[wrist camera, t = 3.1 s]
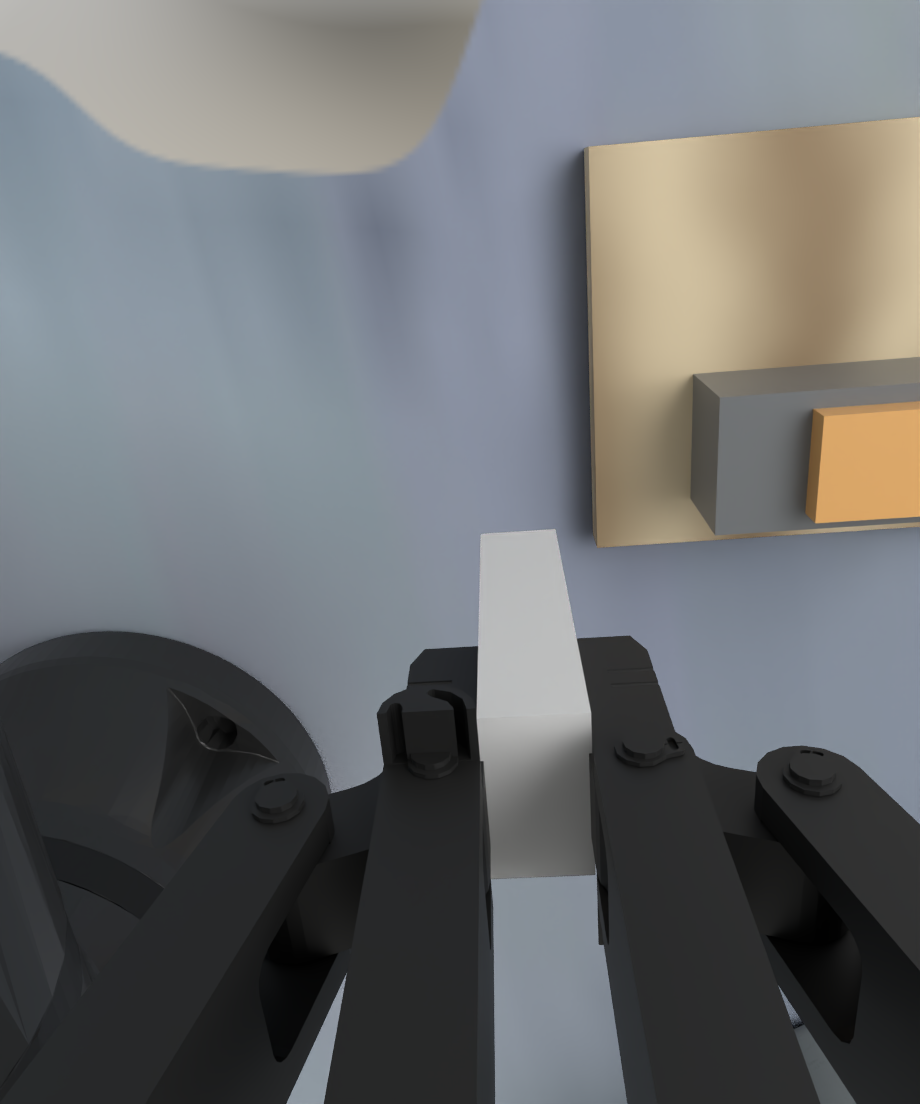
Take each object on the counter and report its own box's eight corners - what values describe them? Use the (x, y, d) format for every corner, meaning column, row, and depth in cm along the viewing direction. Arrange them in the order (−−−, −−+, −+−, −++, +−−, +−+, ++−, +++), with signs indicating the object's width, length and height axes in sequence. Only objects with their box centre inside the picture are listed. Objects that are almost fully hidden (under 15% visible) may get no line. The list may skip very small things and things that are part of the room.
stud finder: (690, 498, 28) (722, 545, 24) (693, 374, 26) (727, 404, 22) (946, 481, 27) (1018, 527, 24) (964, 353, 26) (1045, 381, 22)
